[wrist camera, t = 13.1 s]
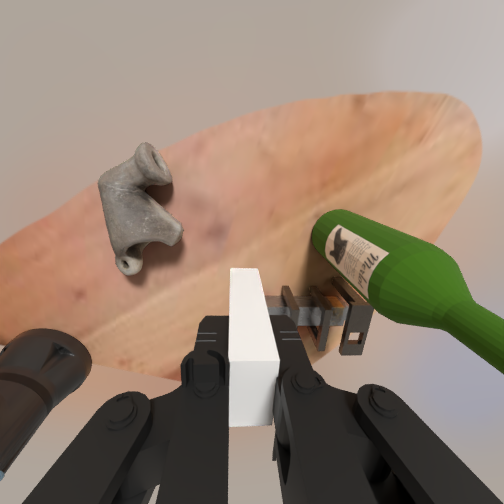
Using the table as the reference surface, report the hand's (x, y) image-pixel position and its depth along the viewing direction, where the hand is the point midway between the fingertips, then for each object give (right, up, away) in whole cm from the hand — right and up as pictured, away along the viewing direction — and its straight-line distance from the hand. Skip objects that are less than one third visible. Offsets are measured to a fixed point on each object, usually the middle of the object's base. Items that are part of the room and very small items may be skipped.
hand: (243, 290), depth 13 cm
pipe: (-17, +9, +26) cm, 32 cm away
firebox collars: (+12, -7, +34) cm, 37 cm away
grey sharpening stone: (+10, -8, +34) cm, 37 cm away
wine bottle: (+16, +6, +30) cm, 34 cm away
